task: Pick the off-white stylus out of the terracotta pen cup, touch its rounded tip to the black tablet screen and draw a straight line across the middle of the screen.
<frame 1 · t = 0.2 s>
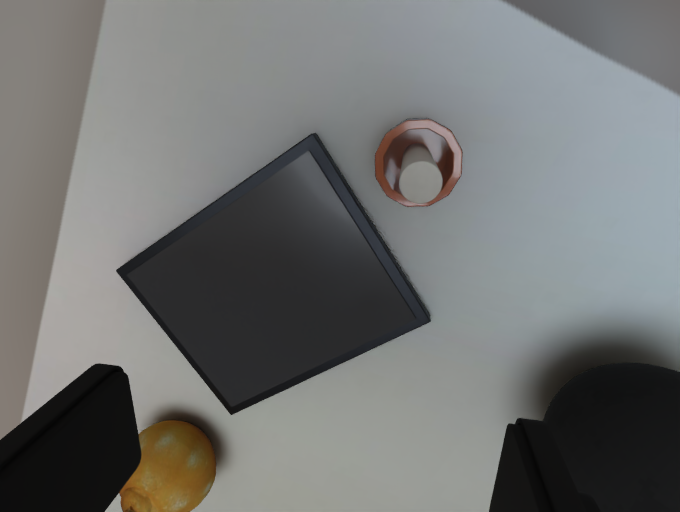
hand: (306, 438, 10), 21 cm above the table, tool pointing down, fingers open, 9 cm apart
fruit: (188, 439, 40), on the table
tablet: (269, 289, 33), on the table
stylus: (416, 156, 27), resting on pen cup
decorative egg: (600, 393, 31), on the table
pen cup: (416, 155, 28), on the table
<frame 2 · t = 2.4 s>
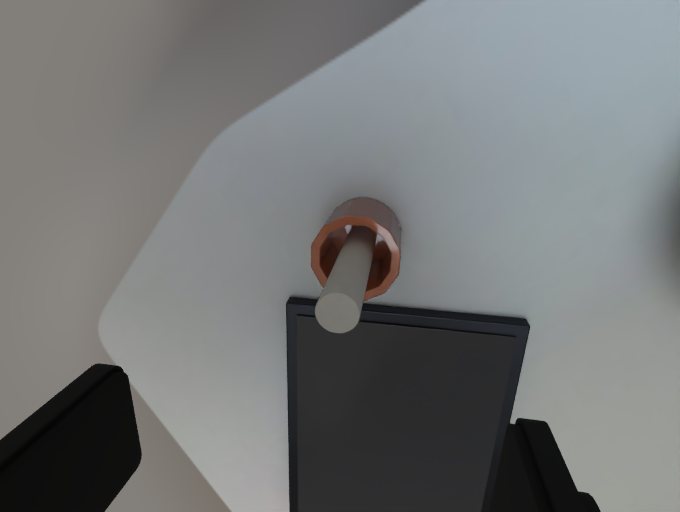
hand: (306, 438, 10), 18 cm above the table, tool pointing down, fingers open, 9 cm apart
tablet: (392, 424, 31), on the table
stylus: (362, 236, 26), resting on pen cup
pen cup: (363, 233, 27), on the table
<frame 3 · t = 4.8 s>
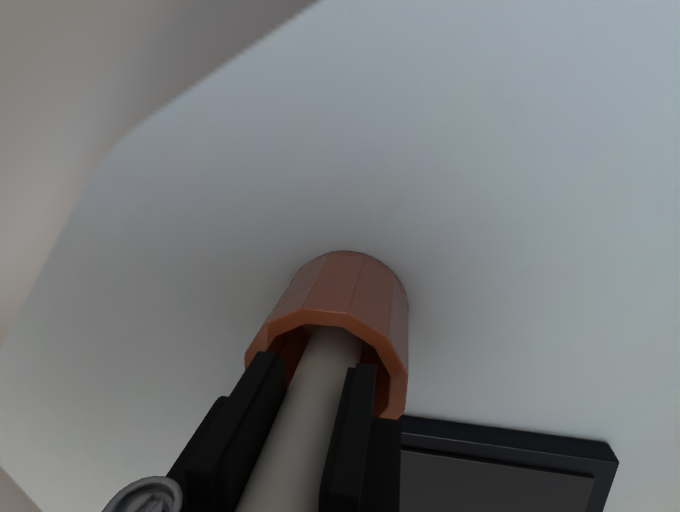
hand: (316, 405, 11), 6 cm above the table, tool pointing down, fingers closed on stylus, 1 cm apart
stylus: (345, 312, 16), resting on pen cup, touching gripper
pen cup: (347, 306, 17), on the table
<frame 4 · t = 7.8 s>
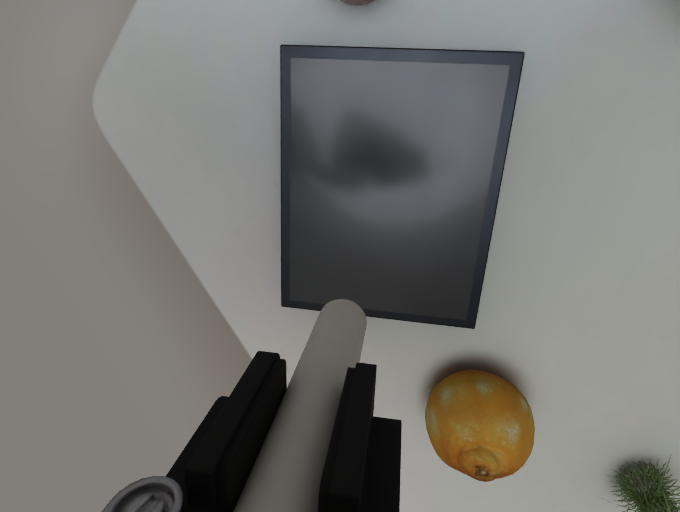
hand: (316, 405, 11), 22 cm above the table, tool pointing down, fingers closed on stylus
fruit: (471, 393, 36), on the table
tablet: (385, 195, 31), on the table
small spiny cactus: (635, 472, 36), on the table
stylus: (345, 311, 16), point 17 cm above the table, touching gripper
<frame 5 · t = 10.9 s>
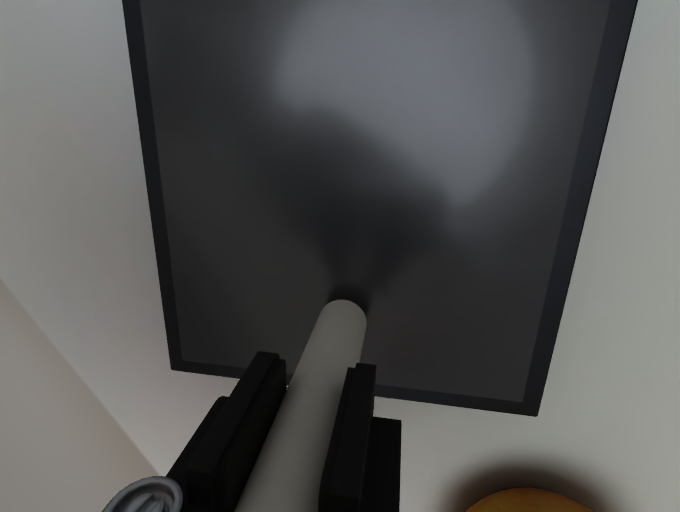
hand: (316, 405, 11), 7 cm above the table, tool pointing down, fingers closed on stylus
tablet: (355, 152, 15), on the table
stylus: (345, 312, 16), point 1 cm above the table, touching gripper, tablet
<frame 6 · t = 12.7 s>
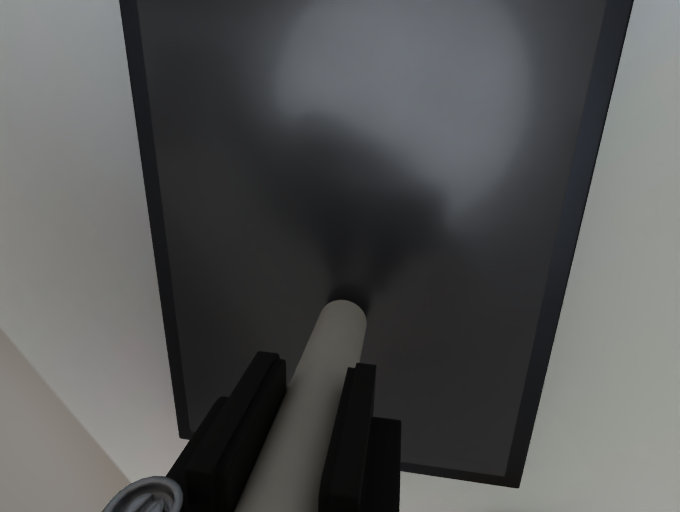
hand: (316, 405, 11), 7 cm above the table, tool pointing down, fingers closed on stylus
tablet: (349, 253, 16), on the table
stylus: (345, 312, 16), point 1 cm above the table, touching gripper, tablet
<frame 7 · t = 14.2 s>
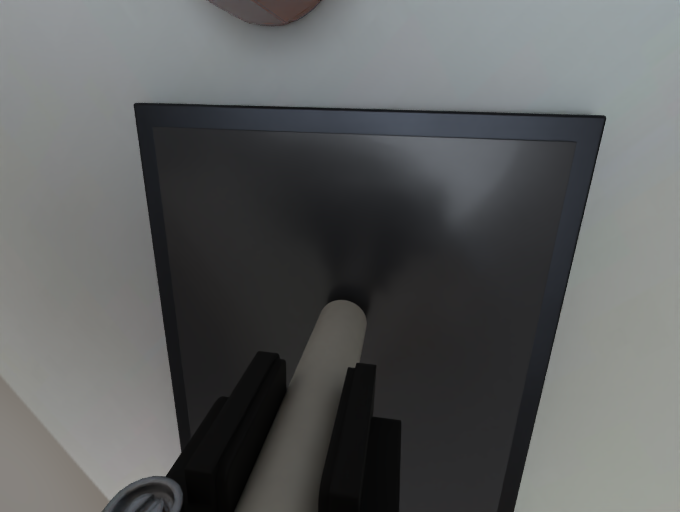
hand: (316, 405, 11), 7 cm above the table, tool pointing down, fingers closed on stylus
tablet: (346, 349, 18), on the table
stylus: (345, 312, 16), point 1 cm above the table, touching gripper, tablet
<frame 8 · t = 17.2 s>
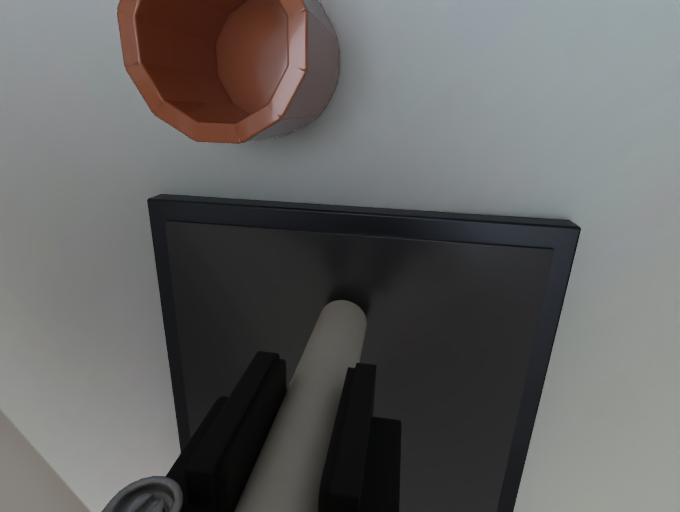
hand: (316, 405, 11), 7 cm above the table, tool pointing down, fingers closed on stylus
tablet: (343, 414, 19), on the table
stylus: (345, 312, 16), point 1 cm above the table, touching gripper, tablet
pen cup: (273, 62, 15), on the table
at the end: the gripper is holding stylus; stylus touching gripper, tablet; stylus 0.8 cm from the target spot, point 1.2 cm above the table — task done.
